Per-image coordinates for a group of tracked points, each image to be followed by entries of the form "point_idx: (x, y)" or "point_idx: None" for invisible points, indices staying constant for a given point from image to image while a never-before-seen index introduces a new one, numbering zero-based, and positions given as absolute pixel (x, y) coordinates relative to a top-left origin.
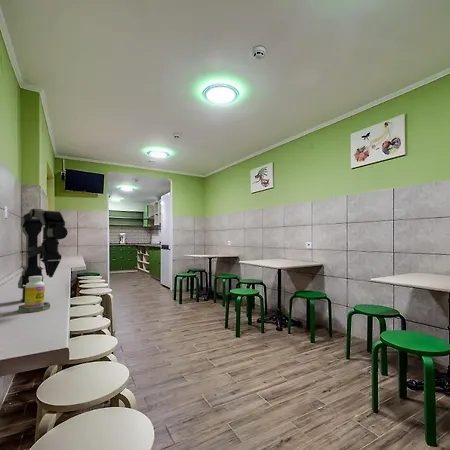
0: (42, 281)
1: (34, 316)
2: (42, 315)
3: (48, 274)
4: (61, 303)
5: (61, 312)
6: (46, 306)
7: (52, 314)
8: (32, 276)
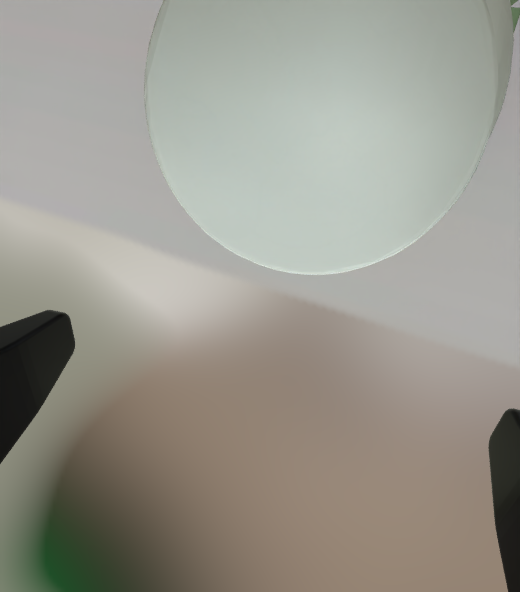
0: None
1: (43, 10)
2: (49, 73)
3: (500, 443)
4: (421, 304)
5: (80, 202)
6: None
7: (48, 140)
8: (394, 41)
